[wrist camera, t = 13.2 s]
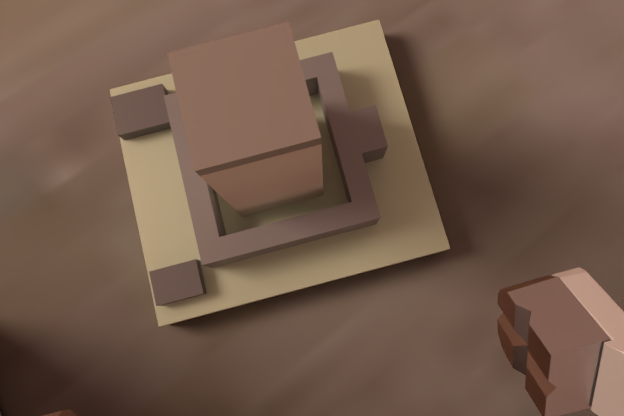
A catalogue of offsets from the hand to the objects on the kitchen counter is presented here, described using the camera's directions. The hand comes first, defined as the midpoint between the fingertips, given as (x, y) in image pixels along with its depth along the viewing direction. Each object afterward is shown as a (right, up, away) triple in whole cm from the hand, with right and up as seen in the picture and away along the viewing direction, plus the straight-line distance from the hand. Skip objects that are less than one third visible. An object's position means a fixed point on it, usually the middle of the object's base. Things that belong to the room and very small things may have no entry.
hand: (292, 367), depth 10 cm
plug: (-2, +5, +15) cm, 16 cm away
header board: (-1, +5, +17) cm, 18 cm away
